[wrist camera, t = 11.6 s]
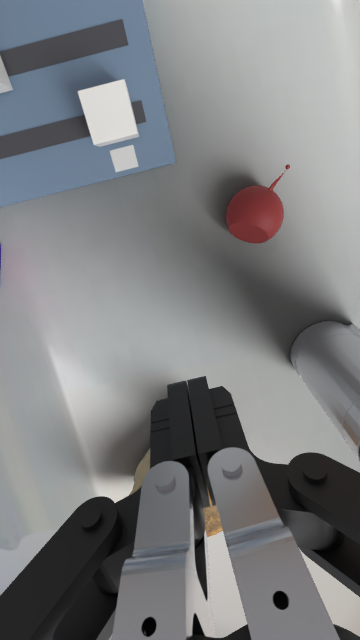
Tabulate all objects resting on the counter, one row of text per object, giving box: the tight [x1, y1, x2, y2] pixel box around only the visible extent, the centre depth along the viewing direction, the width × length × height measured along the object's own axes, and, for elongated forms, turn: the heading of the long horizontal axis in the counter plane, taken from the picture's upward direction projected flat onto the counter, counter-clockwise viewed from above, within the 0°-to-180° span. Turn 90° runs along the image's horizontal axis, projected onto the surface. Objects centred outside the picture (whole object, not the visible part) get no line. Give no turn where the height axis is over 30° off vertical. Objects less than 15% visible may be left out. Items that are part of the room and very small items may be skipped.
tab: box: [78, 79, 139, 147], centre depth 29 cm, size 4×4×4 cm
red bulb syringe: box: [226, 165, 290, 243], centre depth 35 cm, size 6×6×8 cm
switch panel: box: [0, 0, 176, 207], centre depth 31 cm, size 20×16×2 cm
